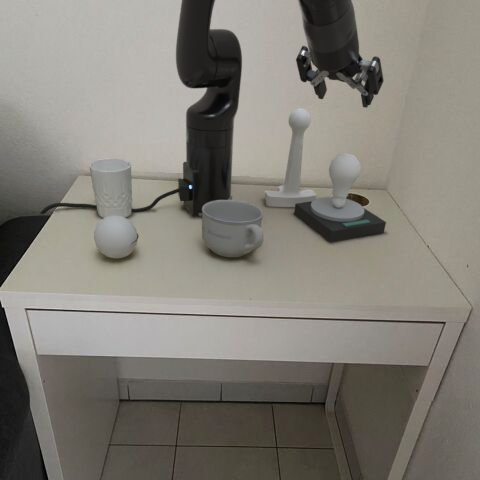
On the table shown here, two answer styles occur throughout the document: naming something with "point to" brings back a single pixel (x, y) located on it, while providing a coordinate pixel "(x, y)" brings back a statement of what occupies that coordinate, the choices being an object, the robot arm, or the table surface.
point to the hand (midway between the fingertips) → (344, 98)
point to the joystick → (293, 166)
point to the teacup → (232, 227)
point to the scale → (339, 219)
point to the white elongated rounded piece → (115, 236)
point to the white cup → (112, 186)
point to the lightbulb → (343, 176)
